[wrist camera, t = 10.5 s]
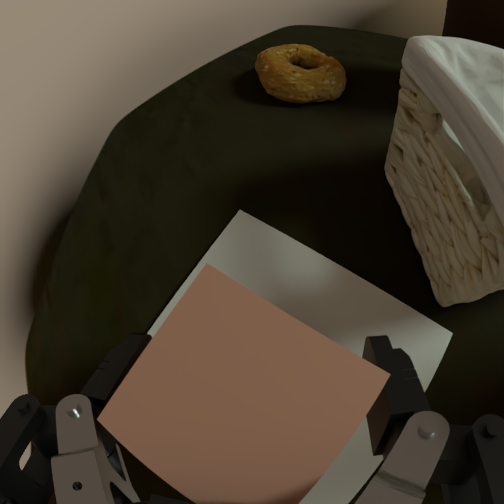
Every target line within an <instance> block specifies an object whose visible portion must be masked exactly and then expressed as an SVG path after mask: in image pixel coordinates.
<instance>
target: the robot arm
mask: <svg viewBox="0 0 504 504" xmlns="http://www.w3.org/2000/svg"><path fill="white" fill-rule="evenodd" d="M151 339H152V336H151V335H150V334H141V333H130V334H129V335H128V337H127V338H126V340H125V341H124V342H123V344H119V345H117V346H116V347H114V348H113V349H112V350H110V351H109V352H108V354H107V355H106V357H105V358H104V359H103V362H101V364H100V365H99V366H98V369H96V371H95V372H94V373H93V375H92V376H91V378H90V379H89V381H88V382H87V383H86V385H85V386H84V388H83V389H82V391H81V392H80V394H73V395H69V396H67V397H65V398H63V399H62V400H61V401H60V402H59V403H58V405H41V404H40V402H39V401H38V399H37V398H36V397H35V396H34V395H31V394H25V395H22V396H19V397H18V398H16V399H15V400H14V401H13V402H12V403H11V405H10V406H9V408H8V409H7V410H6V412H5V413H4V415H3V416H2V417H1V419H0V504H47V503H48V501H49V498H50V496H51V494H52V492H53V490H54V489H55V495H56V500H57V504H190V503H188V502H185V501H181V500H176V499H171V498H167V497H163V496H158V495H154V494H151V497H150V500H149V501H140V499H139V497H138V496H137V494H136V493H135V491H134V489H133V487H132V485H131V482H130V479H129V477H128V474H127V471H126V468H125V464H124V461H123V458H122V455H121V452H120V448H119V446H118V445H117V441H118V440H117V439H116V438H115V437H114V436H113V435H112V434H111V433H110V432H109V431H108V430H107V429H106V428H105V427H104V426H103V425H102V424H101V423H100V422H99V421H98V420H97V418H98V417H99V415H100V414H101V412H102V411H103V409H104V408H105V406H106V405H107V403H108V402H109V400H110V399H111V397H112V396H113V394H114V393H115V392H116V390H117V389H118V387H119V386H120V384H121V383H122V381H123V380H124V378H125V377H126V375H127V374H128V373H129V371H130V370H131V368H132V367H133V365H134V364H135V362H136V361H137V359H138V358H139V357H140V355H141V354H142V352H143V351H144V349H145V348H146V347H147V345H148V344H149V342H150V341H151ZM362 358H363V359H365V360H367V361H368V362H370V363H372V364H374V365H375V366H377V367H379V368H381V369H382V370H384V371H386V372H388V373H389V374H391V375H390V377H389V378H388V380H387V382H386V384H385V385H384V387H383V389H382V390H381V392H380V394H379V395H378V397H377V399H376V400H375V402H374V404H373V405H372V407H371V408H370V410H369V412H368V413H367V415H366V418H367V423H368V429H369V435H370V441H371V447H372V453H373V456H377V455H383V459H384V463H383V465H382V466H381V468H380V469H379V471H378V472H377V473H376V474H375V476H374V477H373V479H372V480H371V482H370V483H369V484H368V486H367V487H366V489H365V490H364V492H363V493H362V494H361V496H360V497H359V498H358V500H357V501H356V502H355V504H421V503H422V501H423V499H424V497H425V494H426V491H425V488H426V486H427V484H441V490H442V495H443V501H444V504H504V419H503V418H501V417H500V416H497V415H494V414H487V415H483V416H481V417H480V418H478V419H477V421H476V422H475V423H474V425H473V426H471V425H453V424H448V422H447V420H446V419H445V418H444V417H443V416H442V415H440V414H438V413H436V412H432V410H431V408H430V405H429V403H428V400H427V397H426V395H425V392H424V390H423V387H422V385H421V382H420V380H419V378H418V375H417V372H416V370H415V369H414V365H413V362H412V360H411V358H410V356H409V355H408V354H407V353H406V352H405V351H404V350H402V349H401V348H394V349H393V348H392V345H391V342H390V340H389V337H388V336H387V335H380V336H367V337H366V339H365V344H364V349H363V355H362ZM30 441H31V443H32V444H33V445H34V446H35V449H34V451H33V452H32V454H31V456H30V458H29V460H28V461H27V463H26V465H25V467H24V468H23V470H21V469H20V466H19V460H20V458H21V456H22V454H23V452H24V451H25V449H26V447H27V446H28V444H29V443H30Z"/></svg>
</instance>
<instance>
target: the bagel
mask: <svg viewBox="0 0 504 504" xmlns="http://www.w3.org/2000/svg"><path fill="white" fill-rule="evenodd" d="M255 70H256V72H257V73H258V74H259V79H260V81H261V84H262V85H263V87H264V88H265V90H266V92H267V93H268V94H270V95H272V96H274V97H275V98H277V99H280V100H283V101H288V102H291V103H301V104H304V103H309V102H315V101H316V102H322V101H327V100H329V101H334V100H336V99H338V98H339V97H340V96H341V94H342V92H343V91H344V89H345V85H346V76H345V70H344V68H343V67H342V65H341V64H340V63H339V62H338V61H337V60H336V59H334V58H333V57H327V56H326V55H325V54H324V53H321V52H319V51H318V50H317V49H315V48H313V47H312V46H308V45H297V44H289V45H282V46H276V47H271V48H268V49H266V50H265V51H263V52H261V53H260V54H259V55H258V56H257V61H256V64H255Z"/></svg>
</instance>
